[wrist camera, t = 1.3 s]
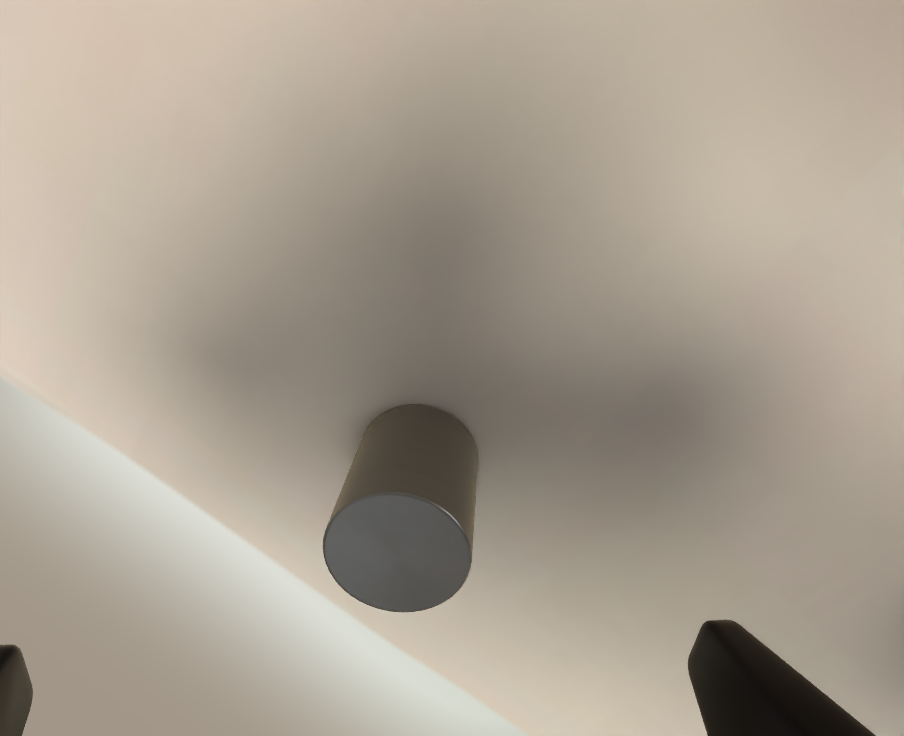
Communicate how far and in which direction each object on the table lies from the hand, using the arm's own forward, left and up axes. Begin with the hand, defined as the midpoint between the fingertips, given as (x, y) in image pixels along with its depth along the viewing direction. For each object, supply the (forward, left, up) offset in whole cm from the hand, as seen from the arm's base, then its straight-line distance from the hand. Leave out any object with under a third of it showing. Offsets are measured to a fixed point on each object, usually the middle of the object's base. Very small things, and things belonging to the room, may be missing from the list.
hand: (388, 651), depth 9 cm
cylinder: (-5, +1, -12) cm, 13 cm away
